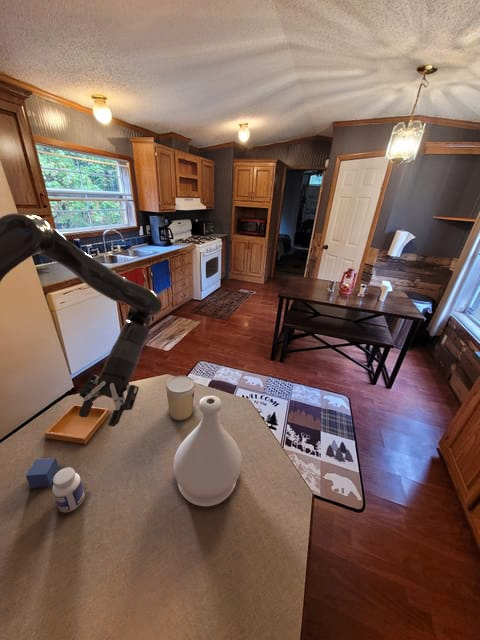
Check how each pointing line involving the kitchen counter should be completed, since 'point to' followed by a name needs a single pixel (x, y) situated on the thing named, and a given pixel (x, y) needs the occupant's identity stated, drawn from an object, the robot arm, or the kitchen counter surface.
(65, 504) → the pill bottle
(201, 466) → the vase
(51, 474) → the blue block
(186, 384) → the cream upright cylinder
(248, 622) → the kitchen counter surface
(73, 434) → the amber tray
